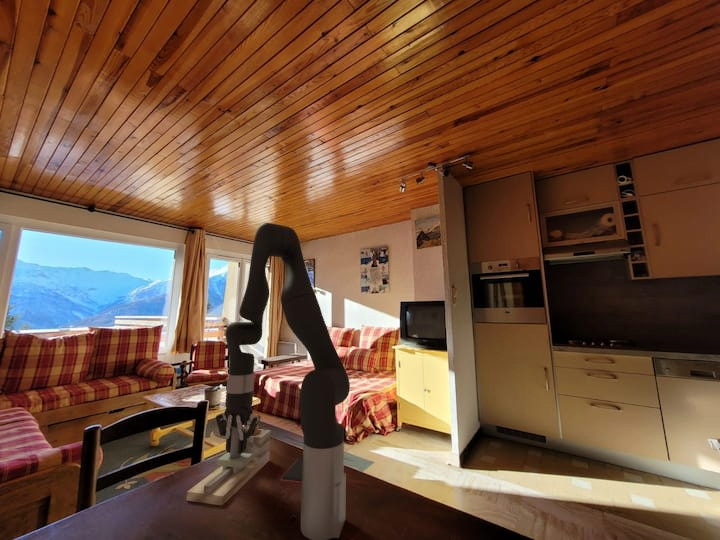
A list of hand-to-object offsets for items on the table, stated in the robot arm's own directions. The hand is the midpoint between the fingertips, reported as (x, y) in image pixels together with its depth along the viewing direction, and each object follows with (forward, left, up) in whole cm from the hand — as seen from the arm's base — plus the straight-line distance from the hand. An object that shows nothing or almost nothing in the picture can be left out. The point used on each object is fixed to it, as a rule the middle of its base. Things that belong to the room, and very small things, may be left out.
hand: (235, 451), depth 83 cm
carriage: (0, 0, -4) cm, 4 cm away
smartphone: (-17, -8, -7) cm, 20 cm away
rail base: (0, +1, -7) cm, 7 cm away
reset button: (0, -8, +1) cm, 8 cm away
